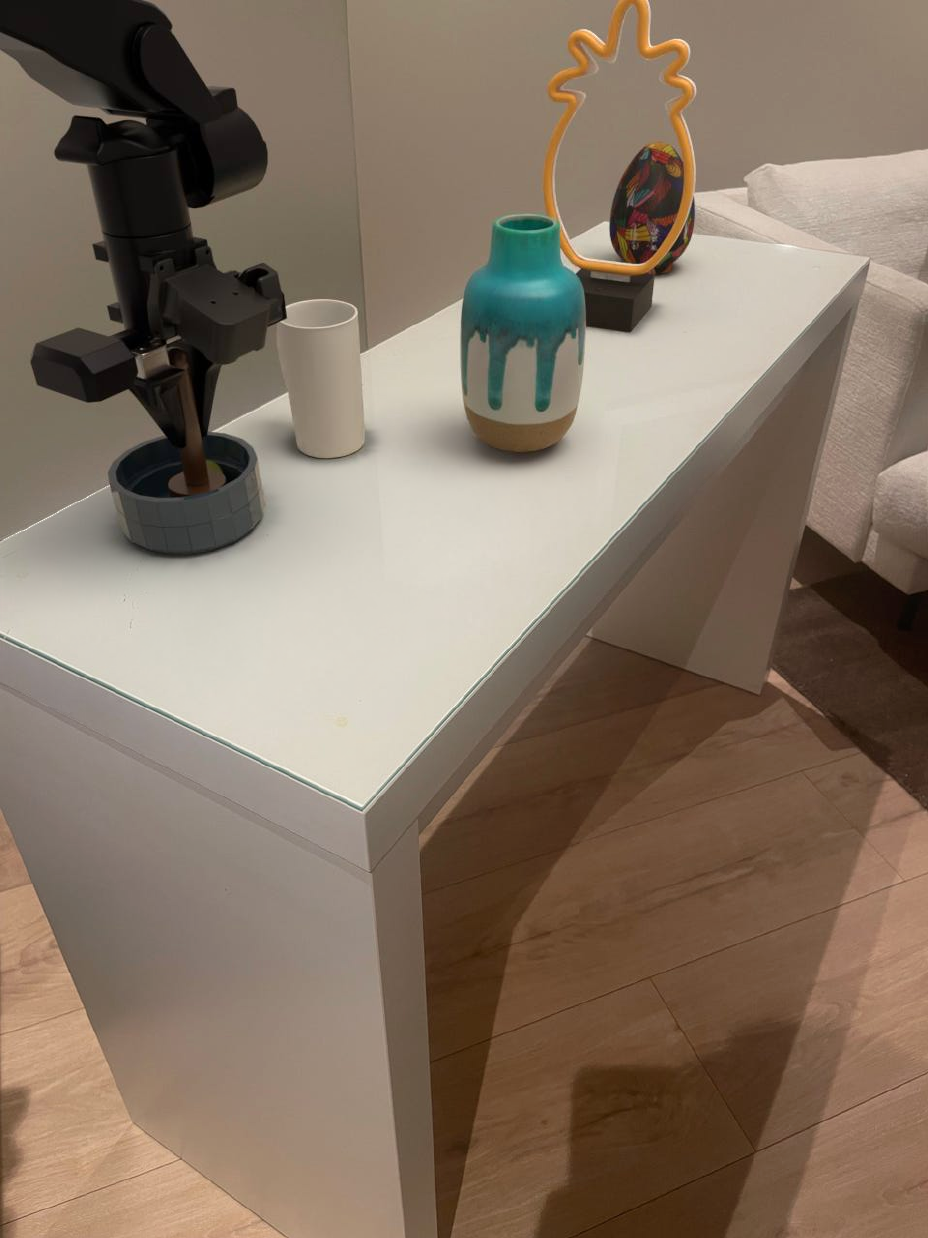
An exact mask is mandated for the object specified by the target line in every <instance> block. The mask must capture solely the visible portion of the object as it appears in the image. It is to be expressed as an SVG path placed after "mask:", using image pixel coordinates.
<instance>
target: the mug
mask: <svg viewBox="0 0 928 1238" xmlns="http://www.w3.org/2000/svg"><path fill="white" fill-rule="evenodd" d="M286 313H287V319H285V320H283V321H280V322H278V323H277V327H276V348H277V355H278V360H279V364H280V369H281V372H282V376H283V380H284V383H285V386H286V389H287V390H286V391H287V394H288V400H289V406H290V414H291V419H292V425H293V429H294V437H295V443H296V446H297V448H298V450H299V451H300V452H301V453H303V454H304V455H306V456H309V457H313V458H318V459H319V458H320V459H335V458H342V457H346V456H348V455H351V454H354V453H355V452H357V451H359V450H360V449H361V448H362V447H363V446H364V445H365V443H366V432H365V429H366V428H365V411H364V408H365V407H364V397H363V396H364V393H363V392H364V391H363V377H362V360H361V342H360V327H359V316H358V314H359V313H358V309H357V307H356V306H355V305H353V304H351V303H349V302H346V301H342V300H337V299H327V298H325V299H324V298H323V299H320V298H319V299H307V300H302V301H301V300H300V301H297V302H293V303H291V304H288V305H286Z"/></svg>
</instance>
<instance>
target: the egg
mask: <svg viewBox="0 0 928 1238" xmlns="http://www.w3.org/2000/svg"><path fill="white" fill-rule="evenodd" d="M683 187H684V167H683V159H682V158H681V155H679V153H678V151H677V150H676V149H675V147H673V146H672V145H670V144H669V143H667V142H663V141H654V142H651V143H648V144H645V146H643V147H642V148H641V149H640V150H639V151H638V152H637V153H636V155H635V156H634V157H633V158H632V159H631V161H630V163H629V164H628V165H627V167H626V168H625V170H624V172H623V173H622V176H621V177H620V180H619V182H618V184H617V187H616V189H615V192H614V196H613V199H612V203H611V208H610V212H609V213H610V214H609V223H608V224H609V225H608V228H609V229H608V230H609V231H608V232H609V239H610V243H611V246H612V248H613V250H614V252H615V254H616V255H617V256H618V258H619V259H620V260H621V261H622V263H630V264H642V263H645V262H647V261H648V260H649V259H651V258H652V257H653V255H654V254H655V253H656V252H657V251H658V249H659V248H660V247H661V245H662V244H663V242H664V241H665V239H666V238H667V236H668V234H669V232H670V231H671V229H672V227H673V225H674V222H675V220H676V218H677V215H678V212H679V208H680V205H681V201H682V195H683ZM695 201H696V200H695V195H694V196H693V201H692V205H691V208H690V212H689V215H688V218H687V220H686V222H685V225H684V227H683V229H682V231H681V232H680V234H679V236H678V238H677V239H676V241H675V243H674V244H673V245H672V247H671V248H670V250H669V251H668V252H667V254H666V255H665V256H664V257H663V259H662V260H661V261H660V262H659V263H658V264H657V265H656V266H655V267H653V268H652V269H651V270H649V271H648V272H646V273H644V274H652V275H658V276H659V275H662V274H665V273H669V271H671V270H672V269H673V265H674V263H675V262H676V261H677V260H679V258H681V256H682V255H683V253H685V251H686V250H687V248H688V247H689V245H690V243H691V241H692V237H693V233H694V228H695V222H696V221H695V220H696V203H695Z"/></svg>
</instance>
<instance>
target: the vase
mask: <svg viewBox="0 0 928 1238" xmlns="http://www.w3.org/2000/svg"><path fill="white" fill-rule="evenodd" d="M490 238H491V241H490V250H489V251H490V252H489V257H488V261H487V263H486V264H485V265H483V266H481V267H480V268H478V269H476V270H475V271H474V272H473V273H472V274H471V276H470V277H469V278H468V280H467V282H466V284H465V288H464V292H463V298H462V305H461V316H460V335H459V336H460V338H459V339H460V345H459V346H460V347H459V349H460V351H459V352H460V353H459V355H460V356H459V357H460V380H461V382H460V383H461V392H462V401H463V408H464V412H465V416H466V420H467V422H468V424H469V426H470V428H471V429H472V432H474V434H475V435H476V436H477V437H478V438H479V439H480V440H481V441H483V442H484V443H485V444H487V445H490V446H491V447H493V448H495V449H498V450H502V451H507V452H516V453H518V452H519V453H524V452H525V453H527V452H528V453H529V452H536V451H539V450H543V449H546V448H549V447H550V446H552V445H555V444H556V443H558V442H559V441H560V440H561V439H562V438H564V436H566V434H567V433H568V431H569V430H570V428H571V427H572V425H573V423H574V422H575V419H576V415H577V411H578V407H579V403H580V397H581V390H582V384H583V376H584V365H585V354H586V353H585V351H586V334H587V332H586V330H587V329H586V328H587V326H586V309H585V296H584V290H583V286H582V283H581V281H580V279H579V278H578V276H577V275H576V272H574V271H573V270H571V269H570V268H569V267H566V266H565V265H564V264H563V261H562V257H561V248H560V224H559V222H558V221H557V220H556V219H554V218H552V217H549V216H547V214H546V215H545V214H539V213H513V214H512V213H511V214H506V215H503V216H500V217H498V218H496V219H495V220H494V221H493V222H492V227H491V237H490Z"/></svg>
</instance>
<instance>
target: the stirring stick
mask: <svg viewBox="0 0 928 1238" xmlns="http://www.w3.org/2000/svg"><path fill="white" fill-rule="evenodd" d="M167 352H168V357H169V362H170V365H172V366H175V367H178V368H182V369H185V372H184V374H183V376H182V377H181V379H180V381H179V382H178V384H177V391H178V397H179V402H180V407H181V412H182V417H183V422H184V428H185V437H186V447H184V448H182V449H180V448H179V452H180V457H181V463H182V468H183V472H181V473H179V474H177V475H175V476H174V477H172V478H171V479H170V480H169V482H168V488H169V493H170V498H181V497H187V496H192V495H198V494H203V493H206V492H209V491H212V490H215V489H217V488H220V487H223V486H225V485H226V484H227V481H226V477H225V475H224V474H223V473H221V472H220V471H217V470H213V469H207V465H206V459H205V454H204V448H203V442H202V436H201V430H200V424H199V418H198V412H197V406H196V400H195V395H194V389H193V383H192V377H191V371H190V358H189V355H188V354H187V352H186V351H185V350H183V349H182V348H179V347H170V348H168V349H167Z"/></svg>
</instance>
